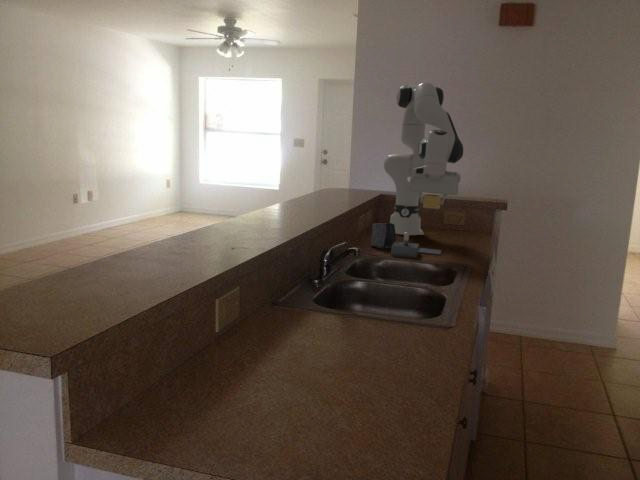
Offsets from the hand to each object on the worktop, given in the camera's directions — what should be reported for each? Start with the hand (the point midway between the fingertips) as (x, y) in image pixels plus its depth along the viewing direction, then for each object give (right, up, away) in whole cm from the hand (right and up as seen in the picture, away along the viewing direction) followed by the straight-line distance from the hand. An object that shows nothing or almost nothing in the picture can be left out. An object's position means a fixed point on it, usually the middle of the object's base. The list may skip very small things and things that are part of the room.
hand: (431, 204), depth 235 cm
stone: (-20, -18, +9) cm, 28 cm away
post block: (-12, -21, -3) cm, 24 cm away
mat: (0, -20, +4) cm, 20 cm away
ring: (0, -1, 0) cm, 1 cm away
